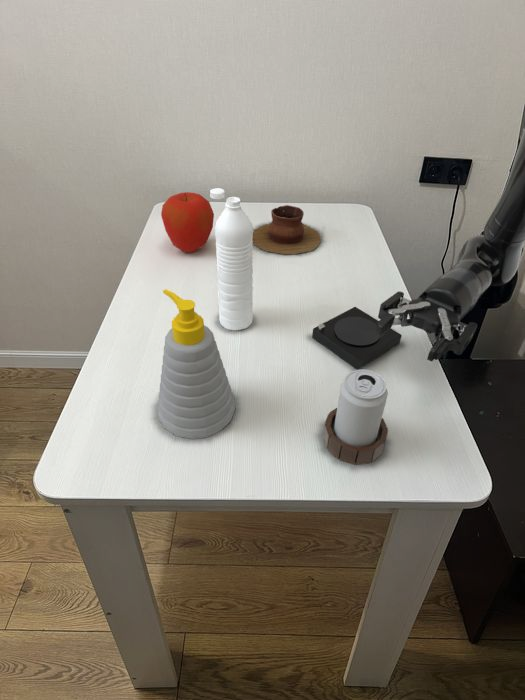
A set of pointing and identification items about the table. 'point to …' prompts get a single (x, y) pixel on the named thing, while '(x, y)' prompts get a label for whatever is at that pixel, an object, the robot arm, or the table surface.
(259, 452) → the table surface
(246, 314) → the water bottle
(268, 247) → the ceramic pot
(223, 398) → the soap bottle
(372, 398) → the beverage can
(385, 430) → the can holder
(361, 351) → the hot plate
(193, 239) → the apple
